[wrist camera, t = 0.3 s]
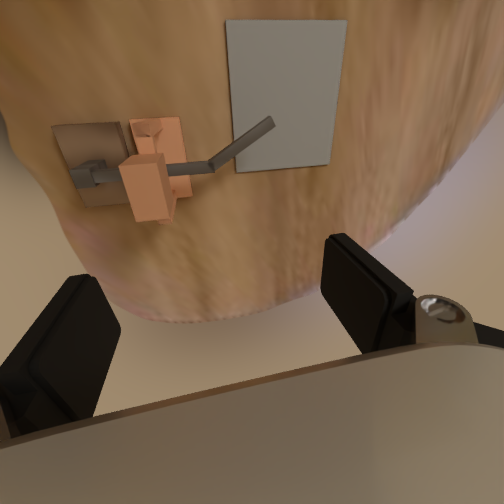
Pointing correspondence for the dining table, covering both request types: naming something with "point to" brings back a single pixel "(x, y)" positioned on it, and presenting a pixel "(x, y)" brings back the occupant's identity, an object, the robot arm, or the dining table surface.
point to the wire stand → (115, 152)
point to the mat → (285, 89)
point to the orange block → (155, 169)
